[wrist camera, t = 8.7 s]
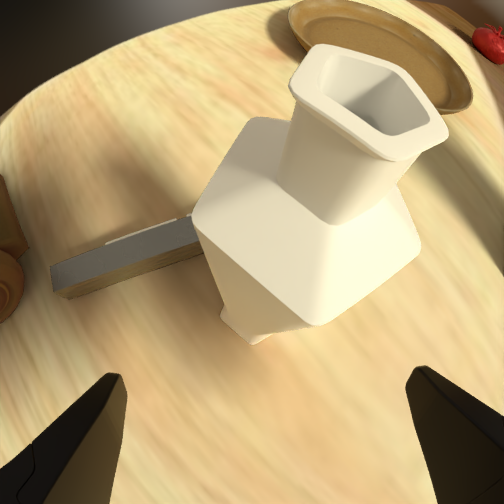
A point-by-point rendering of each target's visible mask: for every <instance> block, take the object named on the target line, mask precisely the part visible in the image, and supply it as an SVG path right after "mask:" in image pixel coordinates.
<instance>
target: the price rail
mask: <svg viewBox="0 0 504 504" xmlns="http://www.w3.org/2000/svg"><path fill="white" fill-rule="evenodd" d="M191 215H192V213H190V214H187V215H186V216H187V217H185V218H182V219H179V220H177V219H176V218H175V219H172V220H169V221H166V222H163V223H160V224H157V225H154V226H151V227H148V228H145V229H142V230H139V231H137V232H134V233H131V234H128V235H125V236H123V237H120V238H117V239H114V240H112V241H109V242H106V243H105V244H106V245H104V246H102V247H99V248H96V249H94V250H91V251H88V252H86V253H83V254H81V255H78V256H75V257H73V258H70V259H68V260H65V261H63V262H60V263H58V264H55V265H53V266H50V271H51V278H52V285H53V291H54V293H56V294H58V295H60V296H62V297H64V298H66V299H68V300H70V299H73V298H75V297H78V296H81V295H84V294H87V293H90V292H92V291H95V290H98V289H101V288H104V287H107V286H109V285H112V284H115V283H118V282H121V281H124V280H127V279H129V278H132V277H135V276H138V275H141V274H144V273H147V272H150V271H153V270H155V269H158V268H161V267H164V266H167V265H170V264H173V263H176V262H179V261H182V260H185V259H188V258H191V257H193V256H196V255H199V254H202V253H204V251H203V249H202V246H201V244H200V241H199V238H198V236H197V233H196V230H195V228H194V225H193V222H192V216H191Z"/></svg>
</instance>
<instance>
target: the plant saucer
mask: <svg viewBox="0 0 504 504" xmlns="http://www.w3.org/2000/svg"><path fill="white" fill-rule="evenodd" d="M288 21H289V24H290V27H291V30H292V32H293V33H294V35H295V37H296V38H297V40H298V41H299V43H300V44H301V45H302V46H303V48H304V49H305V50H306V51H307V52H309V50H310V49H311V48H312V47H314V46H315V45H317V44H328V45H333V46H338V47H341V48H345V49H349V50H353V51H356V52H360V53H363V54H367V55H370V56H373V57H376V58H380V59H383V60H386V61H389V62H391V63H393V64H396V65H398V66H400V67H401V68H403V69H404V70H405V71H406V72H407V73H408V74H409V75H410V76H411V77H412V78H413V79H414V80H415V82H416V83H417V84H418V86H419V87H420V88H421V89H422V91H423V92H424V93H425V95H426V96H427V97H428V99H429V100H430V101H431V103H432V104H433V106H434V107H435V108H436V110H437V111H438V113H439V114H440V115H446V114H453V113H458V112H460V111H463V110H465V109H467V108H468V107H469V106H470V105H471V103H472V101H473V92H472V88H471V85H470V83H469V80H468V78H467V77H466V75H465V73H464V72H463V70H462V69H461V67H460V66H459V65H458V64H457V62H456V61H455V60H454V59H453V58H452V57H451V56H450V55H449V54H448V53H447V52H446V51H445V50H444V49H443V48H442V47H441V46H440V45H439V44H437V43H436V42H435V41H434V40H432V39H431V38H430V37H429V36H427V35H426V34H424V33H423V32H422V31H420V30H419V29H417V28H415V27H414V26H412V25H410V24H409V23H407V22H405V21H403V20H402V19H400V18H398V17H396V16H393V15H391V14H389V13H387V12H385V11H382V10H379V9H377V8H374V7H371V6H368V5H365V4H361V3H358V2H354V1H349V0H303V1H300V2H298V3H296V4H294V5H293V6H292V7H291V8H290V10H289V12H288Z"/></svg>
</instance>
